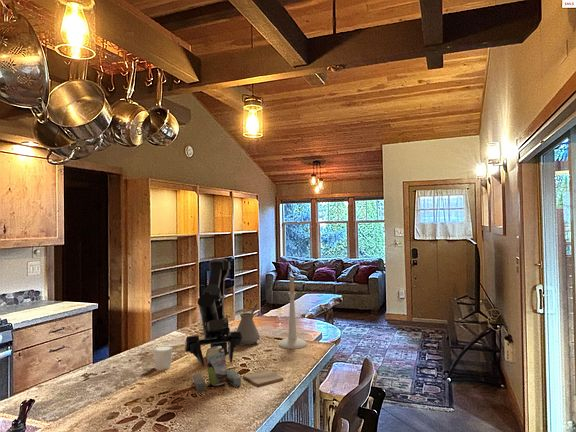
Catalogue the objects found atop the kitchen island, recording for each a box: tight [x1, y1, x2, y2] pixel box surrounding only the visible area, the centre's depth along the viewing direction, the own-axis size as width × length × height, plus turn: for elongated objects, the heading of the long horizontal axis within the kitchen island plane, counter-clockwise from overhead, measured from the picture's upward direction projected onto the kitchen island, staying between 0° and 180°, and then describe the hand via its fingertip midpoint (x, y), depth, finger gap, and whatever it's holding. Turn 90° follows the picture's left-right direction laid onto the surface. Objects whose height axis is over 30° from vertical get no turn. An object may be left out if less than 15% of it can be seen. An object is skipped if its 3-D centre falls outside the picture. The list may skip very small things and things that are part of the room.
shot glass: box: [153, 345, 173, 371], centre depth 148 cm, size 7×7×7 cm
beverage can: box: [205, 346, 229, 387], centre depth 131 cm, size 6×7×12 cm
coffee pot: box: [236, 303, 261, 346], centre depth 185 cm, size 21×12×15 cm, turn 167°
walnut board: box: [242, 369, 284, 387], centre depth 135 cm, size 10×10×1 cm
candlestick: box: [277, 277, 308, 350], centre depth 177 cm, size 13×13×30 cm
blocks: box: [193, 368, 242, 393], centre depth 131 cm, size 9×14×2 cm, turn 112°
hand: (217, 364), depth 130 cm, fingers open, 9 cm apart
